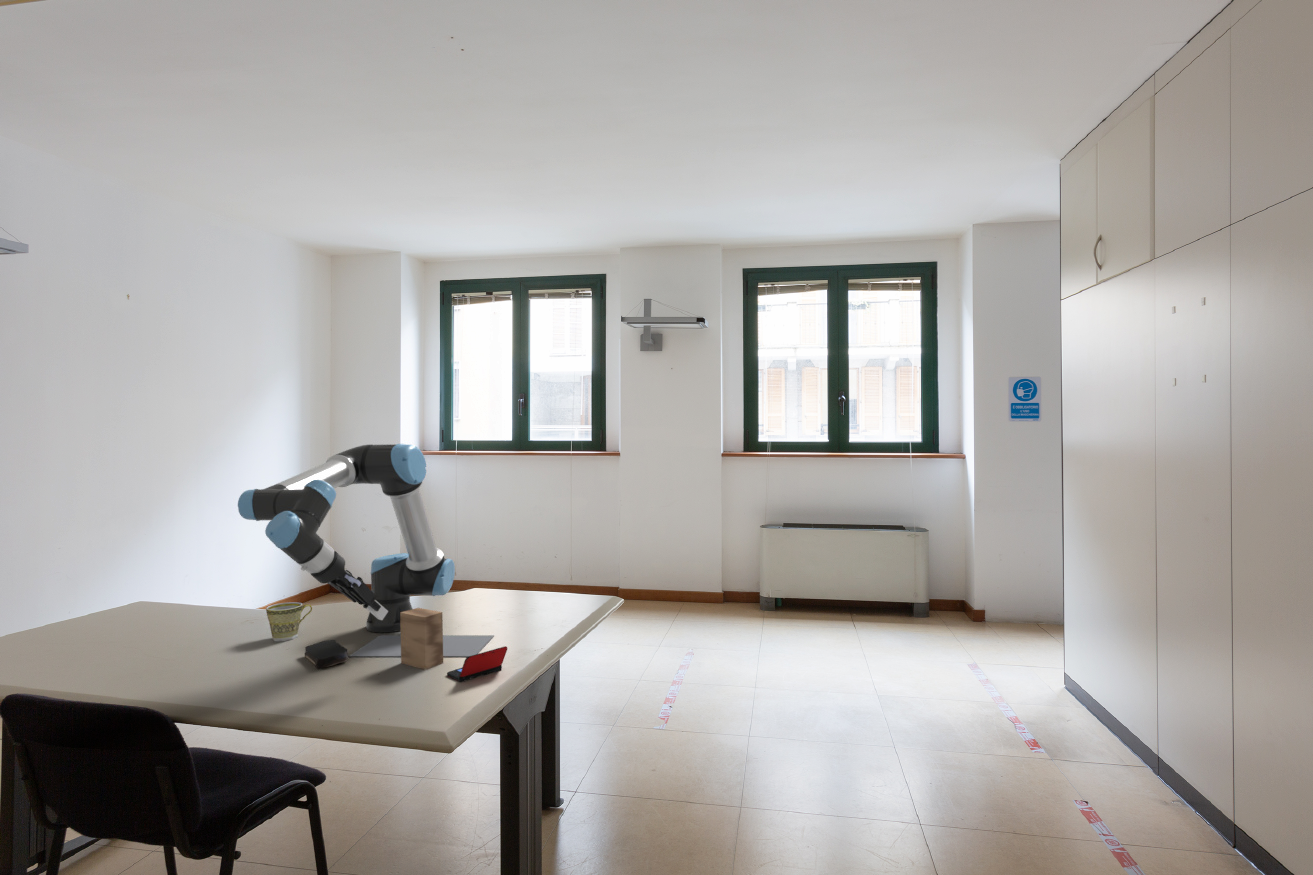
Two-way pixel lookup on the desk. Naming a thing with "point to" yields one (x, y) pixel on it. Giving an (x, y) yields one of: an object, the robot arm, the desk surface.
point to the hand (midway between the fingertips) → (383, 615)
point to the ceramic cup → (285, 620)
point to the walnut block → (421, 638)
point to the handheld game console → (479, 665)
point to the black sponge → (326, 653)
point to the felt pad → (451, 646)
